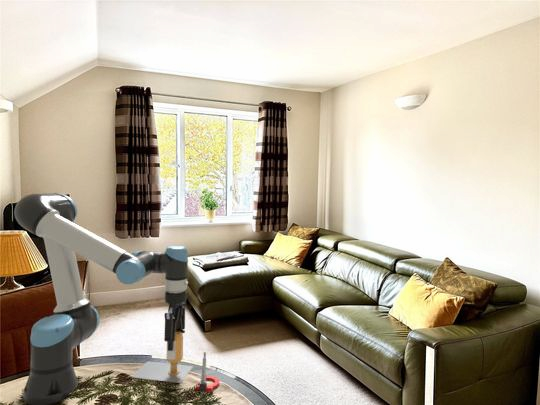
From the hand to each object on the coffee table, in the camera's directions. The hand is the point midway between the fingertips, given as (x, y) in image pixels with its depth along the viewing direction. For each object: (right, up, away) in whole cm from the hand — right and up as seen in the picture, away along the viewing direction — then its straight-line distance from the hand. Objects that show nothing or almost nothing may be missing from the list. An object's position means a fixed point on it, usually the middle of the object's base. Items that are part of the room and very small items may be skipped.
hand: (174, 354), depth 131 cm
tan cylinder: (0, -2, 0) cm, 2 cm away
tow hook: (+12, -9, -4) cm, 15 cm away
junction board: (-4, -8, +1) cm, 9 cm away
